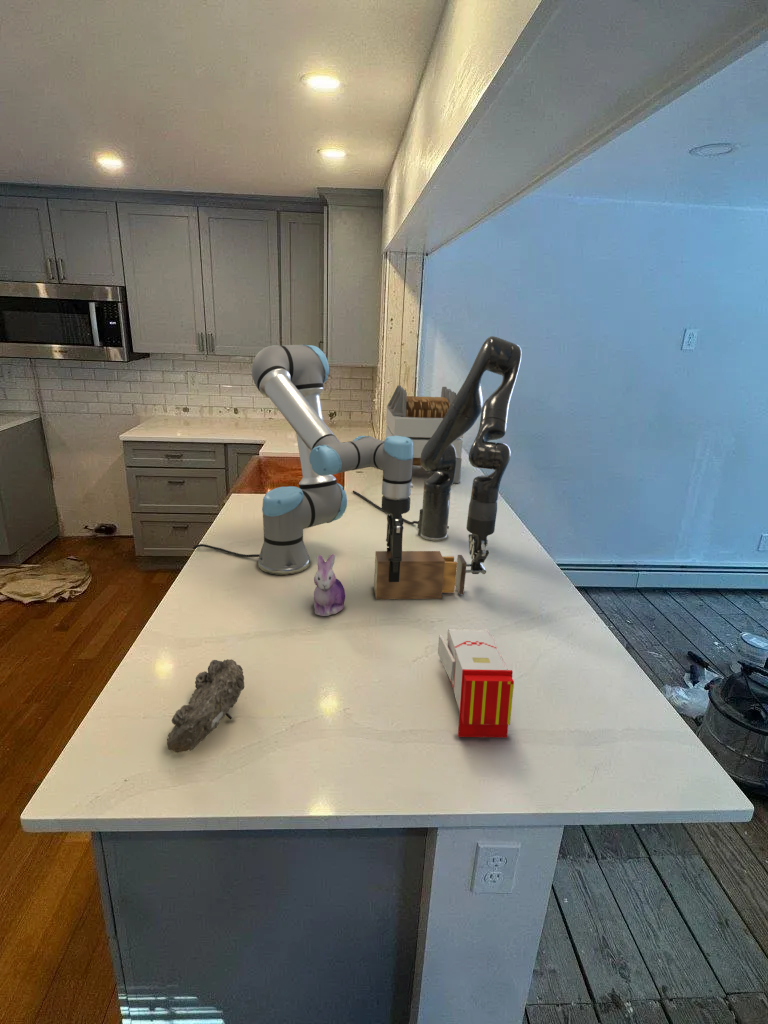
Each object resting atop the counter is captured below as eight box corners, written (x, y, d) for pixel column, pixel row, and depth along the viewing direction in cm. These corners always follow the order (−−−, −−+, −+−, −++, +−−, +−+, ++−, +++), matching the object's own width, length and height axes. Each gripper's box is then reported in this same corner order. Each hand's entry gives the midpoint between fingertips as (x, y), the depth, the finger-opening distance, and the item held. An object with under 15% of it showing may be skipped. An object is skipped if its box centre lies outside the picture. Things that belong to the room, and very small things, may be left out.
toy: (488, 613, 130) (523, 677, 101) (484, 667, 133) (517, 744, 104) (435, 612, 130) (455, 676, 101) (432, 666, 133) (451, 743, 103)
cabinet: (436, 587, 163) (439, 550, 159) (441, 598, 156) (444, 561, 153) (373, 587, 161) (375, 551, 157) (375, 599, 154) (377, 561, 150)
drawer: (478, 585, 163) (482, 554, 160) (484, 594, 158) (487, 563, 155) (399, 585, 161) (401, 554, 157) (402, 595, 155) (404, 563, 152)
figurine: (319, 621, 142) (319, 567, 137) (305, 602, 151) (304, 551, 146) (353, 613, 146) (354, 560, 141) (337, 596, 155) (338, 545, 150)
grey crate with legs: (382, 463, 289) (386, 382, 275) (445, 464, 293) (451, 384, 279) (390, 482, 257) (394, 392, 243) (460, 483, 261) (468, 394, 247)
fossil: (192, 660, 117) (244, 628, 112) (224, 691, 120) (276, 661, 115) (142, 746, 98) (202, 712, 93) (182, 779, 101) (242, 748, 96)
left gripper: (416, 508, 140) (411, 592, 147) (405, 485, 158) (401, 560, 166) (386, 508, 139) (382, 592, 146) (378, 484, 157) (375, 560, 165)
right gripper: (502, 524, 147) (494, 583, 153) (489, 507, 159) (481, 562, 165) (474, 523, 146) (467, 583, 152) (462, 506, 158) (456, 562, 164)
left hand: (392, 575), depth 156 cm, fingers closed on cabinet, 7 cm apart
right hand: (474, 572), depth 159 cm, fingers closed
